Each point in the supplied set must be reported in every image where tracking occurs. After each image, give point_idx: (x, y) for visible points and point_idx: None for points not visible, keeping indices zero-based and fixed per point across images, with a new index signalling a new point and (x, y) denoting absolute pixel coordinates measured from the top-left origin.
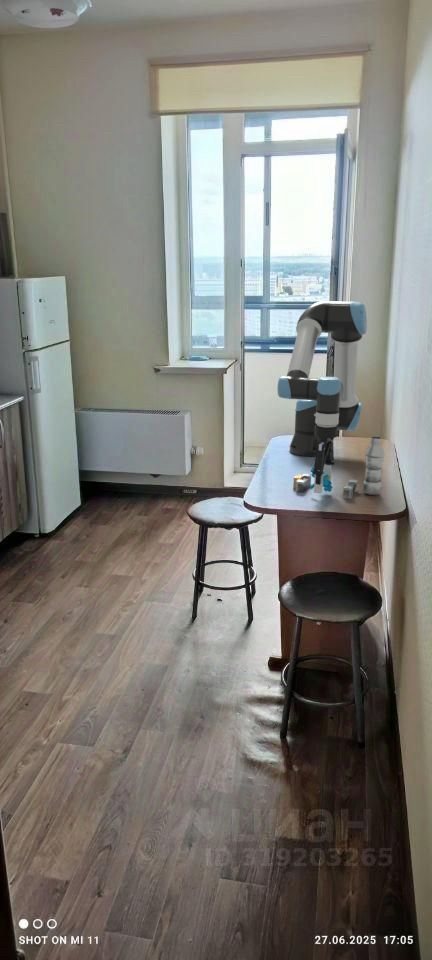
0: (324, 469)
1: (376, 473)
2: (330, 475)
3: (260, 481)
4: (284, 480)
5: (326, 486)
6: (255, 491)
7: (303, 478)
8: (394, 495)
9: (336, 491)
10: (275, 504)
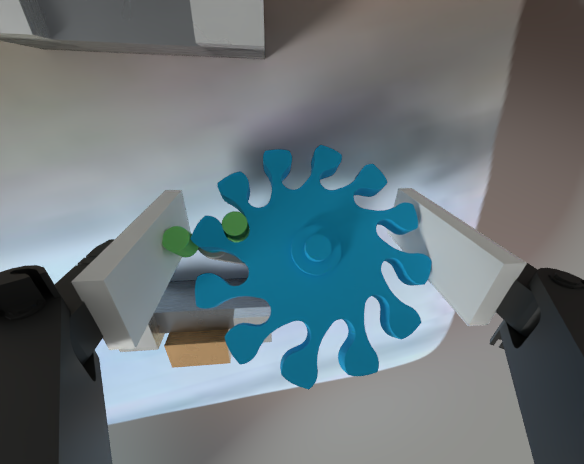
0: (153, 299)
1: None
2: (157, 219)
3: (220, 400)
4: (158, 363)
5: (352, 187)
6: (323, 380)
7: (174, 330)
8: None
9: (149, 136)
10: (434, 310)
